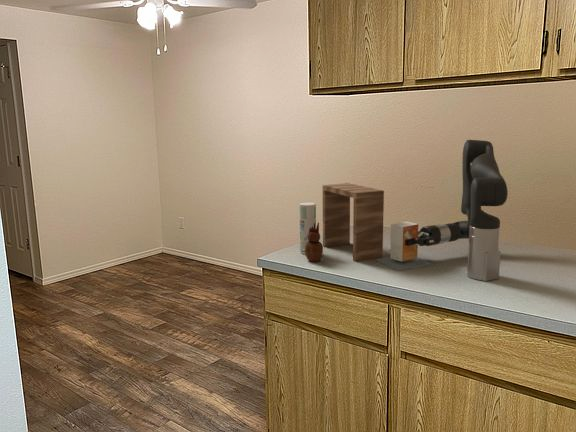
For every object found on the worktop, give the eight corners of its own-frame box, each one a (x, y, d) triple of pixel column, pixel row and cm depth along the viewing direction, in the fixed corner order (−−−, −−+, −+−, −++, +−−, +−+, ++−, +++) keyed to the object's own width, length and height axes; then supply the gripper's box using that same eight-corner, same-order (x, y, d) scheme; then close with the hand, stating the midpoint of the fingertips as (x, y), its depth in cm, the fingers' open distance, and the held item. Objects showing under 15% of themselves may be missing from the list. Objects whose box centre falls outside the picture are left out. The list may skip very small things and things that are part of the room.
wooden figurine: (325, 260, 187) (325, 221, 184) (316, 263, 183) (315, 224, 180) (312, 257, 191) (311, 219, 188) (302, 260, 187) (301, 222, 184)
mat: (433, 265, 179) (433, 264, 178) (399, 270, 172) (399, 269, 172) (407, 255, 192) (407, 254, 192) (375, 260, 186) (375, 259, 186)
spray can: (318, 253, 196) (318, 204, 192) (303, 255, 194) (302, 205, 190) (312, 249, 202) (312, 201, 198) (297, 251, 200) (297, 203, 196)
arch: (382, 257, 189) (383, 190, 184) (355, 261, 184) (356, 193, 179) (347, 242, 212) (347, 183, 207) (322, 246, 207) (322, 185, 202)
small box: (402, 262, 177) (403, 227, 175) (389, 258, 183) (390, 224, 180) (418, 258, 182) (418, 223, 179) (405, 254, 187) (406, 220, 184)
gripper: (422, 221, 192) (387, 226, 185) (448, 228, 179) (412, 234, 173) (422, 240, 194) (387, 245, 187) (448, 248, 181) (411, 255, 174)
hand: (399, 240), depth 180 cm, fingers closed on small box, 7 cm apart
